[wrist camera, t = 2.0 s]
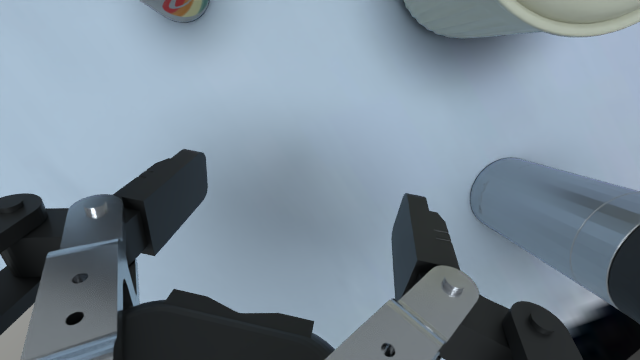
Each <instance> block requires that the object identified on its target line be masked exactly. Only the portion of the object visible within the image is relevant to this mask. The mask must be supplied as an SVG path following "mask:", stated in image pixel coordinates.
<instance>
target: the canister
mask: <svg viewBox="0 0 640 360" xmlns="http://www.w3.org/2000/svg"><path fill="white" fill-rule="evenodd" d="M403 1H404V3H405V6H406V8H407V9H408V10H409V11H410V13H411V15H412V17H414V18H415V19H416V20H417V21H418V23H419V24H421V25H423V26H424V27H425V28H426V29H427V30H431V31H433V32H434V33H435V34H437V35H444V36H445V37H449V38H454V37H455V38H480V37H493V36H503V35H513V34H522V33H532V32H546V33H549V34H553V35H558V36H564V37H591V36H598V35H603V34H608V33H611V32H615V31H618V30H621V29H624V28H627V27H629V26H631V25H634V24H636V23H638V22H640V0H403Z"/></svg>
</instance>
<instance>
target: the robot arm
mask: <svg viewBox="0 0 640 360" xmlns="http://www.w3.org/2000/svg"><path fill="white" fill-rule="evenodd" d="M207 188H208V184H207V170H206V157H205V155H204V153H202V152H197V151H192V150H187V149H183V150H181V151H180V152H179V153H177V154H176V155H175V156H173V157H172V158H171V159H170V158H168V159H166V160H163V161H160V162H158V163H155V164H154V165H153V166H151V167H150V168H149V169H147V171H145V172H143V173H142V174H140V175H139V177H136V178H135V179H134V180H132V181H131V182H130V183H128V184H127V185H126V186H124V187H123V188H121V189H120V190H119V191H117V192H116V193H115V194H113V195H108V194H101V195H94V196H90V197H86V198H83V199H81V200H79V201H77V202H75V203H74V204H73V205H72V206H71V207H70V208H57V209H45V206H44V204H43V201H42V199H41V198H40V197H39V196H37V195H34V194H15V195H9V196H5V197H2V198H0V254H1V256H2V258H3V260H4V261H5V263H6V265H7V266H6V267H5V268H4V269H2V270H1V271H0V335H1V334H2V333H3V332H4V331H5V330H6V329H7V328H8V327H10V325H12V323H14V322H15V321H16V320H17V319H18V318H19V317H20V316H21V315H22V314H23V313H24V312H25V311H26V310H27V309H28V308H29V307H31V306H32V305H33V303H35V304H34V308H33V312H32V316H31V320H30V324H29V328H28V332H27V336H26V340H25V344H24V348H23V352H22V356H21V360H441V358H444V359H445V360H583V358H582V357H581V355H580V353H579V351H578V349H577V347H576V345H575V343H574V341H573V339H572V337H571V335H570V333H569V332H568V330H567V328H566V327H565V326H564V324H563V323H562V322H561V321H560V320H559V319H558V318H557V317H556V316H555V315H554V314H552V313H551V312H550V311H548V310H546V309H545V308H543V307H541V306H539V305H537V304H534V303H531V302H526V301H520V302H517V303H515V304H513V306H512V307H511V309H508V308H506V307H503V306H501V305H499V304H497V303H495V302H493V301H490V300H488V299H486V298H484V297H483V296H481V295H480V294H479V291H478V288H477V286H476V284H475V283H474V281H473V280H472V279H471V278H470V277H469V276H468V275H466V274H465V273H463V272H462V271H460V268H459V265H458V261H457V258H456V255H455V252H454V248H453V245H452V242H451V239H450V236H449V234H448V229H447V226H446V223H445V221H444V220H443V219H442V218H441V217H440V215H439V214H438V213H437V212H432V211H429V208H428V204H427V200H426V198H425V197H422V196H417V195H412V194H407V193H405V194H404V196H403V199H402V202H401V205H400V208H399V211H398V214H397V217H396V220H395V223H394V226H393V231H392V255H393V271H394V287H395V299H391V300H389V301H388V302H387V303H385V304H384V305H383V306H382V307H381V308H380V309H379V310H378V311H377V312H376V313H375V314H374V315H372V316H371V317H370V318H369V319H368V320H367V321H366V322H365V323H364V324H363V325H362V326H361V327H359V328H358V329H357V330H356V331H355V332H354V333H353V334H352V335H351V336H350V337H349V338H348V339H346V340H345V341H344V342H343V343H342V344H341V345H340V346H339V347H338V348H337V349H336V350H335V349H334V348H333V347H332V346H331V345H329V344H328V343H327V342H326V341H324V340H323V339H322V338H320V337H319V336H317V335H315V334H313V333H312V330H313V324H314V321H311V320H306V319H302V318H298V317H293V316H289V315H285V314H280V313H238V312H235V311H233V310H232V309H230V308H228V307H226V306H224V305H222V304H220V303H218V302H216V301H215V300H213V299H211V298H209V297H206V296H202V295H198V294H193V293H189V292H185V291H180V290H176V289H173V291H172V292H171V294H170V295H169V297H168V298H167V299H166V300H159V301H152V302H147V303H143V304H140V300H139V282H138V264H137V260H136V258H137V257H138V256H139V255H140V253H143V254H148V255H152V256H155V255H156V254H157V253H158V252H159V251H160V250H161V248H162V247H163V246H164V245H165V244H166V243H167V241H168V240H169V239H170V238H171V237H172V236H173V235H174V233H175V232H176V231H177V230H178V229H179V228H180V226H181V225H182V224H183V223H184V222H185V221H186V220H187V218H188V217H189V216H190V215H191V214H192V213H193V212H194V210H195V209H196V208H197V207H198V206H199V205H200V203H201V202H202V201H203V200H204V198H205V196H206V193H207ZM470 201H471V207H472V210H473V212H474V214H475V216H476V217H477V218H478V219H479V220H480V221H481V222H482V223H484V224H486V225H487V226H489V227H490V228H492V229H493V230H495V231H496V232H498V233H500V234H501V235H502V236H504V237H506V238H507V239H509V240H510V241H512V242H513V243H515V244H517V245H518V246H520V247H521V248H523V249H524V250H526V251H528V252H529V253H531V254H532V255H534V256H535V257H537V258H538V259H540V260H542V261H543V262H545V263H546V264H548V265H549V266H551V267H553V268H554V269H556V270H557V271H559V272H560V273H562V274H564V275H565V276H567V277H568V278H570V279H571V280H573V281H575V282H576V283H578V284H579V285H581V286H582V287H584V288H586V289H587V290H589V291H591V292H592V293H594V294H595V295H597V296H598V297H600V298H601V299H603V300H605V301H606V302H608V303H609V304H611V305H612V306H614V307H616V308H617V309H619V310H620V311H621V312H623V313H624V314H626V315H628V316H629V317H631V318H632V319H634V320H635V321H636V322H638V323H639V324H640V191H636V190H633V189H629V188H625V187H622V186H618V185H614V184H610V183H607V182H603V181H599V180H596V179H592V178H588V177H585V176H581V175H577V174H574V173H570V172H566V171H562V170H559V169H555V168H551V167H548V166H545V165H541V164H537V163H533V162H529V161H526V160H522V159H518V158H505V159H501V160H498V161H496V162H494V163H492V164H491V165H489V166H487V167H486V168H485V169H484V170H483V171H482V172H481V173H480V175H479V176H478V177H477V179H476V181H475V183H474V185H473V188H472V191H471V199H470Z"/></svg>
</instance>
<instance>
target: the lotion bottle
mask: <svg viewBox="0 0 640 360" xmlns="http://www.w3.org/2000/svg"><path fill="white" fill-rule="evenodd" d="M140 1H141V2H143V3H144V4H146V5H147V6H149V7H150V8H152V9H153V10H155V11H156V12H158V13H160V14H161V15H163V16H164V17H166V18H168V19H170V20H173V21H176V22H190V21H193V20H195V19H197V18H199V17H200V16H201V15H202V14H203V13H204V11H205V10H206V8H207V6H208V2H209V0H140Z"/></svg>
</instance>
